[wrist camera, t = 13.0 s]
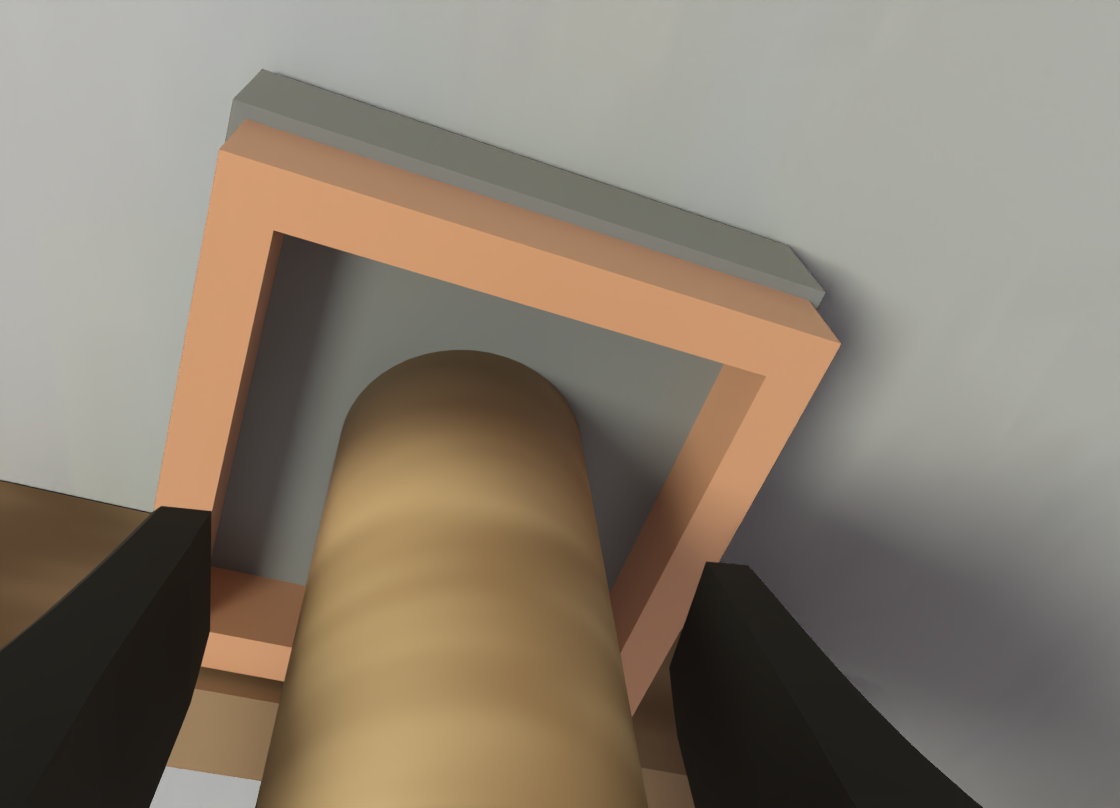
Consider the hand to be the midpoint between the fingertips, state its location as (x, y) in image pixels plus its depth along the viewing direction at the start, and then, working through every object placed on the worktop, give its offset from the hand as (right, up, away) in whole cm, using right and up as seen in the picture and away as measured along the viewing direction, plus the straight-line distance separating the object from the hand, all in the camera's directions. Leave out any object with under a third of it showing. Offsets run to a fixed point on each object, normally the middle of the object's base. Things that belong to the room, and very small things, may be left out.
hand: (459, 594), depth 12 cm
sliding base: (0, +3, +5) cm, 5 cm away
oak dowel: (0, +2, +3) cm, 3 cm away
